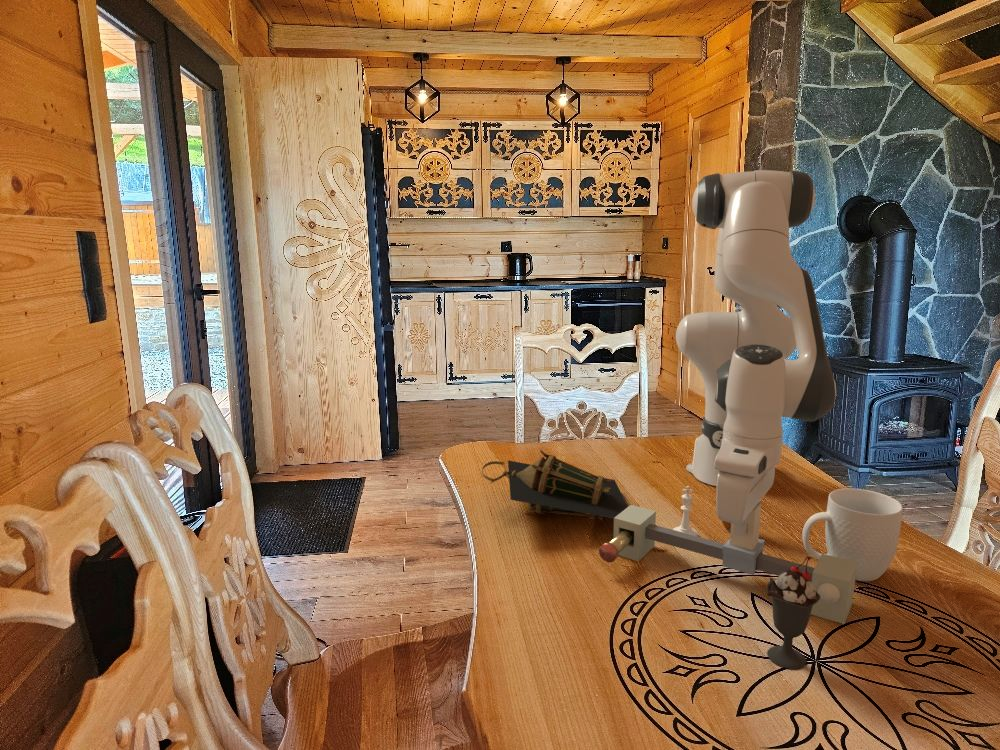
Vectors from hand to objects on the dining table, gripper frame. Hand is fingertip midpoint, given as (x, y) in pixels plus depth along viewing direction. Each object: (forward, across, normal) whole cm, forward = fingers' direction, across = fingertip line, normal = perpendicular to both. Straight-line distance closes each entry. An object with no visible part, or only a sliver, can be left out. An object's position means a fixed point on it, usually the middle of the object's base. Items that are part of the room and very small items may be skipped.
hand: (744, 528), depth 109 cm
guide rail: (+10, 0, -3) cm, 10 cm away
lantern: (+10, -6, -40) cm, 41 cm away
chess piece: (+10, -11, -14) cm, 20 cm away
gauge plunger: (+7, +6, -19) cm, 21 cm away
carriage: (+6, 0, 0) cm, 6 cm away
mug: (+10, -14, +14) cm, 22 cm away
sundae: (+10, +17, +11) cm, 22 cm away
